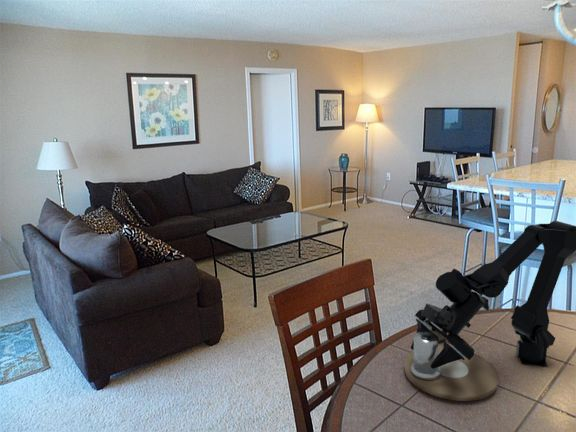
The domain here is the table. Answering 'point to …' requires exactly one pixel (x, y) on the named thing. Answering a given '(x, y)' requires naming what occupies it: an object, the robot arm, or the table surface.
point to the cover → (425, 356)
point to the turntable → (459, 379)
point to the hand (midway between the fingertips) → (421, 358)
